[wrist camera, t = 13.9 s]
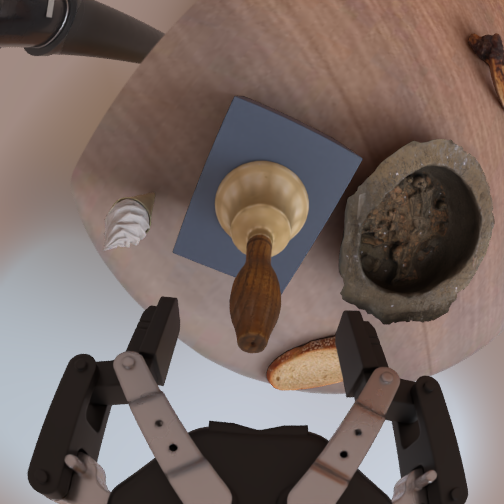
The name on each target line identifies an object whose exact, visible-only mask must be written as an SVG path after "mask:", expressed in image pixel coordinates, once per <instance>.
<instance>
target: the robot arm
mask: <svg viewBox="0 0 504 504" xmlns="http://www.w3.org/2000/svg"><path fill="white" fill-rule="evenodd" d="M69 14H70V3H69V0H0V48H1V47H31V48H43V47H45V46H47V45H49V44H50V43H52V42H53V41H54V40H55V39H56V38H57V37H58V36H59V35H60V33H61V32H62V30H63V29H64V27H65V25H66V23H67V20H68V18H69ZM179 331H180V317H179V308H178V300H177V298H172V297H163V296H162V297H161V298H160V300H159V303H158V305H157V306H149V307H148V308H147V309H146V310H145V311H144V312H143V314H142V316H141V318H140V322H139V323H138V325H137V328H136V329H135V332H134V334H133V336H132V338H131V341H130V343H129V345H128V348H127V350H126V352H123V353H121V354H119V355H118V356H117V357H116V358H115V360H112V361H101V362H96V361H95V360H94V358H93V357H91V356H90V355H88V354H79V355H76V356H75V357H74V358H72V359H71V360H70V362H69V363H68V365H67V368H66V370H65V372H64V374H63V377H62V379H61V381H60V384H59V386H58V389H57V391H56V393H55V395H54V398H53V400H52V403H51V405H50V408H49V410H48V413H47V416H46V418H45V421H44V424H43V426H42V429H41V432H40V435H39V438H38V441H37V443H36V447H35V450H34V453H33V456H32V459H31V462H30V466H29V469H28V480H29V483H30V485H31V486H32V487H33V489H34V490H36V491H37V492H39V493H41V494H43V495H44V496H46V497H47V498H49V499H50V500H52V501H55V502H57V503H59V504H464V503H465V502H466V499H467V497H468V488H467V483H466V478H465V473H464V469H463V464H462V460H461V456H460V451H459V447H458V443H457V440H456V436H455V432H454V429H453V425H452V422H451V419H450V415H449V412H448V409H447V406H446V403H445V399H444V396H443V393H442V391H441V388H440V385H439V383H438V382H437V381H436V380H435V379H434V378H432V377H430V376H422V377H420V378H418V380H417V381H416V382H413V381H408V380H403V379H400V378H399V376H398V374H397V373H396V372H395V371H394V370H393V369H391V368H389V367H388V364H387V361H386V358H385V355H384V353H383V350H382V347H381V345H380V341H379V339H378V336H377V333H376V331H375V328H374V327H373V326H372V325H371V324H370V323H369V322H368V321H363V318H362V315H361V313H360V311H344V312H343V314H342V317H341V320H340V323H339V326H338V329H337V332H336V336H335V344H336V349H337V354H338V358H339V363H340V368H341V372H342V377H343V382H344V387H345V392H346V397H354V398H355V403H354V404H353V406H352V408H351V409H350V411H349V412H348V414H347V415H346V417H345V418H344V420H343V421H342V423H341V425H340V426H339V427H338V429H337V430H336V432H335V433H334V434H333V436H332V437H331V439H330V440H329V441H328V440H327V439H325V438H324V437H322V436H320V435H317V434H315V433H312V432H308V426H307V425H305V426H280V427H275V428H269V429H264V430H256V429H252V428H248V427H245V426H242V425H238V424H235V423H226V422H216V421H209V427H203V428H198V429H195V430H193V431H190V432H187V431H186V429H185V428H184V426H183V425H182V423H181V422H180V420H179V418H178V416H177V415H176V414H175V411H174V410H173V408H172V407H171V405H170V403H169V401H168V400H167V398H166V396H165V394H164V393H163V392H162V391H160V389H159V387H158V385H161V386H164V383H165V380H166V376H167V373H168V369H169V365H170V362H171V359H172V355H173V351H174V348H175V345H176V341H177V338H178V335H179ZM118 404H129V406H130V409H131V411H132V413H133V415H134V417H135V419H136V421H137V423H138V425H139V427H140V429H141V431H142V433H143V435H144V437H145V439H146V441H147V443H148V445H149V447H150V449H151V450H152V452H153V454H154V456H155V458H154V459H153V460H152V461H150V462H149V463H148V464H146V465H145V466H144V467H142V468H141V469H139V470H138V471H137V472H136V473H134V474H133V475H131V476H130V477H128V478H127V479H126V480H124V481H123V482H121V483H120V484H119V485H117V486H116V487H115V488H114V489H113V490H112V492H110V491H109V490H108V488H107V486H106V475H105V472H104V470H103V468H102V467H101V466H100V465H99V464H98V463H97V459H98V455H99V451H100V447H101V443H102V439H103V435H104V432H105V428H106V424H107V420H108V417H109V413H110V410H111V406H112V405H118ZM385 420H390V421H392V425H393V430H394V436H395V442H396V447H397V454H398V460H399V467H400V474H401V479H400V480H399V481H398V482H397V483H396V485H395V487H394V495H393V498H392V500H391V499H390V498H389V497H388V496H387V495H386V494H385V493H384V492H383V491H382V490H381V489H379V488H378V487H377V486H376V485H375V484H374V483H373V482H372V481H371V480H369V479H368V478H367V477H366V476H365V475H364V474H363V473H362V472H361V471H360V470H359V469H358V467H359V465H360V464H361V462H362V460H363V459H364V457H365V456H366V454H367V452H368V450H369V449H370V447H371V445H372V443H373V442H374V440H375V438H376V436H377V434H378V432H379V431H380V429H381V427H382V425H383V423H384V421H385Z"/></svg>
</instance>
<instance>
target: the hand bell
mask: <svg viewBox="0 0 504 504" xmlns="http://www.w3.org/2000/svg"><path fill="white" fill-rule="evenodd" d="M215 211H216V216H217V218H218V221H219V223H220V225H221V227H222V228H223V229H224V231H225V232H226V233H227V234H228V235H229V236H230V237H231V238H232V241H233V243H234V244H235V246H236V247H237V248H238V249H239V250H240V251H241V252H242V253H244V254H246V262H245V265H244V266H243V267H242V268H241V270H240V271H239V272H238V274H237V276H236V278H235V280H234V283H233V286H232V290H231V295H230V314H231V319H232V323H233V325H234V328H235V332H236V336H237V343H238V346H239V347H240V349H241V350H243V351H245V352H248V353H259V352H261V351H263V350H264V349H265V347H266V345H267V343H268V339H269V337H270V334H271V332H272V330H273V328H274V327H275V325H276V323H277V320H278V317H279V313H280V308H281V291H280V285H279V281H278V278H277V275H276V273H275V271H274V269H273V268H272V266H271V257H272V256H274V255H277V254H278V253H280V252H281V251H282V250H283V249H284V248H285V247H286V246H287V244H288V242H289V240H291V239H292V238H293V237H294V236H295V235H296V234H297V233H298V232H299V231H300V230H301V228H302V227H303V225H304V223H305V221H306V219H307V215H308V211H309V199H308V194H307V191H306V188H305V186H304V184H303V183H302V181H301V180H300V178H299V177H298V176H297V175H296V174H295V173H294V172H293V171H291V170H290V169H288V168H287V167H285V166H283V165H280V164H278V163H274V162H270V161H253V162H249V163H245V164H243V165H240V166H238V167H237V168H235V169H233V170H232V171H231V172H230V173H228V174H227V175H226V177H225V178H224V179H223V180H222V182H221V183H220V185H219V187H218V190H217V193H216V197H215Z"/></svg>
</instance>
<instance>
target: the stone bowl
mask: <svg viewBox="0 0 504 504" xmlns="http://www.w3.org/2000/svg"><path fill="white" fill-rule="evenodd" d="M492 211H493V205H492V198H491V195H490V188H489V185H488V183H487V181H486V177H485V175H484V172H483V170H482V168H481V166H480V164H479V163H478V161H477V160H476V158H475V157H473V156H471V154H467V153H466V152H465V151H463V147H460V146H457V145H456V144H455V143H453V142H452V140H446V139H437V140H431V141H429V142H424V143H419V142H416V141H412V142H410V143H408V144H407V145H405V146H403V147H402V148H400V149H399V150H398V151H396V152H395V153H394V154H392V155H391V156H389V157H388V158H386V159H385V160H384V161H383V162H381V163H380V165H379V166H378V167H377V169H376V170H375V172H374V173H372V174H371V176H369V177H368V178H367V179H366V180H365V182H364V183H363V184H362V185H360V186H358V190H357V191H356V193H355V194H354V195H352V196H350V197H348V199H347V204H346V209H345V222H344V223H345V226H344V232H343V239H342V243H341V248H340V253H339V272H340V275H341V277H342V278H343V281H344V287H343V289H342V291H341V293H340V294H341V295H342V299H343V300H345V301H346V302H348V303H350V304H354V305H356V306H357V307H358V308H359V309H363V310H366V312H367V314H372V315H373V316H375V317H376V318H377V319H379V320H380V321H381V322H382V323H383V324H391V323H392V322H394V323H396V322H400V321H406V322H409V321H410V320H412V321H421V322H424V321H431V320H435V319H437V318H439V317H440V316H442V315H443V314H446V313H447V312H448V311H449V307H450V306H451V303H452V302H454V301H455V300H456V297H457V293H458V292H460V291H461V290H462V289H465V288H466V287H467V286H468V285H469V283H470V281H471V279H472V277H473V276H474V274H475V272H476V271H477V269H478V267H479V265H480V263H481V261H482V260H483V258H484V256H485V255H486V252H487V248H488V246H489V241H490V239H491V235H492V229H493V227H494V216H493V213H492Z"/></svg>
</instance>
